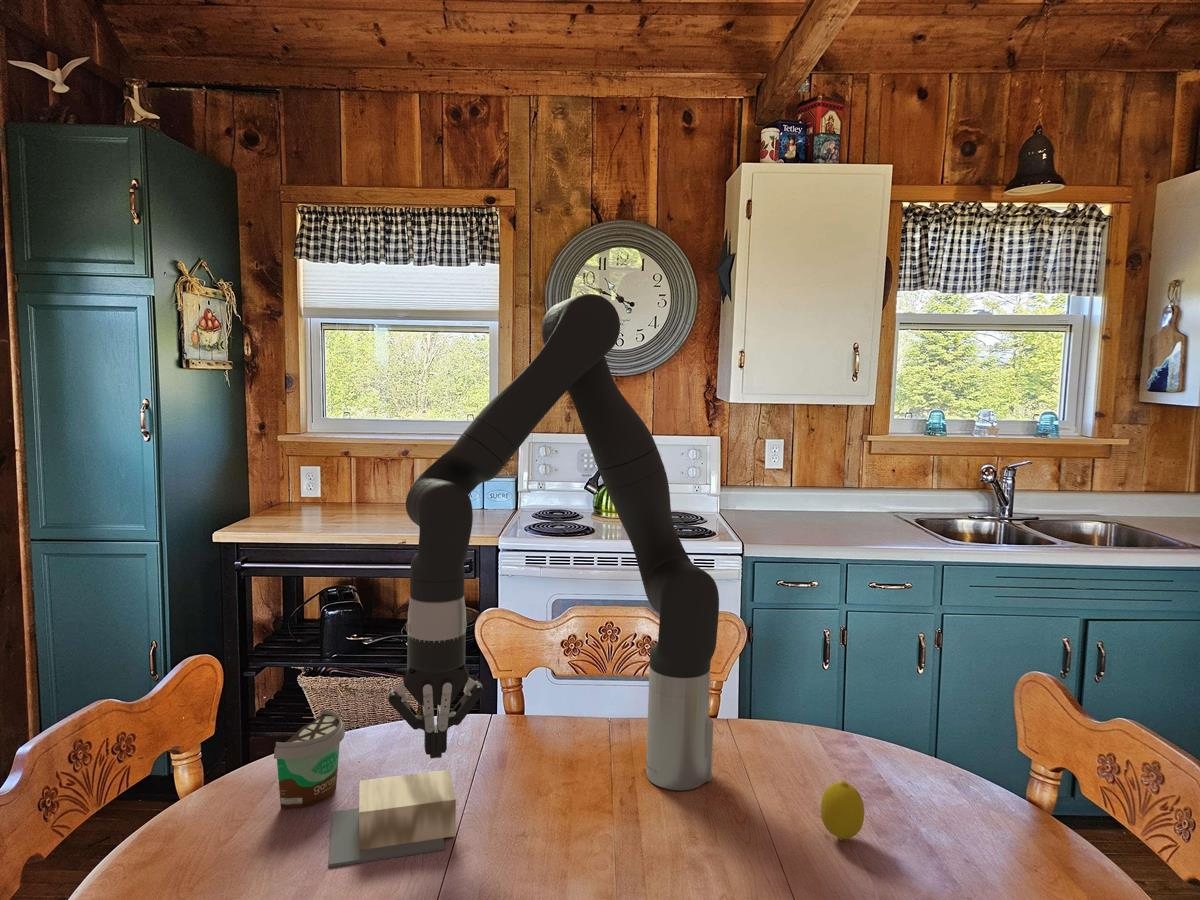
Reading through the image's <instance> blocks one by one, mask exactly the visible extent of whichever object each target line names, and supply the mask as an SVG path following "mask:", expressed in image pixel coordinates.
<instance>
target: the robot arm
mask: <svg viewBox="0 0 1200 900" xmlns="http://www.w3.org/2000/svg"><path fill="white" fill-rule="evenodd" d="M542 319H543V320H542V323H541V338H542V342H543V347H542V348H541V350H540V351H539V353H538V354H537V355H536V356H535V357H534V359H532V361H531V362H530V363H529V364H528V365H527V366H526V367H525V369H523V370H522V371H521V372H520V374H519V375H517V376H516V377H515V378H514V379H513V380H512V381H511V382H509V384H508V385H507V386H506V387H505V388H503V389H502V390H501V391H500V392H499V393H498V394H497V395H496V396H495V397H493V399H492V400H490V401H489V403H488V404H487V405H486V406H485V407H484V408H483V409H482V410H481V411H480V412H479V414H477V416H476V417H475V418H474V419H473V421H472V422H471V423H470V424H469V426H467V428H466V429H465V430H464V431H463V433H462V434H461V435H460V436H459V438H458V439H457V441H456V442H455V443H454V444H453V445H452V447H451V448H449V449H448V450H447V451H446V452H444V453H443V454H442V455H440V456H439V457H438V458H437V459H436V460H435V461H434V462H433V463H432V464H430V466H428V467H427V468H426V469H425V470H424V471H423V472H422V473H421V474H420V475H419V476H418V477H417V479H416V480H415V482H414V483H413V484H412V486H411V487H410V488H409V490H408V493H407V495H406V499H405V511H406V513H407V516H408V517H409V519H410V520H411V521H412V523H414V524H415V525H416V526H418V527H419V532H418V533H419V534H418V535H419V537H418V546H417V547H418V549H417V552H416V553H415V554H414V555H413V557H412V559H411V561H410V570H409V574H410V575H409V603H408V610H407V626H406V628H407V645H406V646H407V649H406V650H407V652H406V653H407V657H406V658H407V660H406V663H407V665H406V666H407V668H406V671H405V673H404V674H403V677H402V681H401V683H400V684H398V685H397V686H396V687H390V688H389V689H388V691H387V699H388V703H389V704H390V706H392V707H393V708H394V710H395V711H396V713H397V712H398V714H399V715H400V717H402V718H403V720H404V721H405V722H406V723H407V724H408V725H409V726H410V728H411V729H412V730H422V731H424V739H423V741H424V747H423V748H424V751H425V752H424V753H425V754H426V755H429V758H430V759H431V760H432V759H439V758H440V759H441V758H443V756H442V755H443V754H445V753H446V751H447V749H448V730H449V728H450V727H452V726H459V725H460V724H461V723H462V722H463V720H465V718H466V716H467V715H468V714H469V713H470V711H471V710H472V709H473V707H474V706H475V705H476V704H477V702H478V701H479V700H480V698H481V697H482V696H483V694H484V692H485V689H484V688H483V685H482V683H481V681H480V680H474V679H472V678H471V677H470V674H469V672H468V669H467V667H466V637H467V636H466V634H467V624H468V623H467V609H466V603H465V602H466V601H465V576H466V575H465V573H466V572H465V569H466V568H465V560H466V558H467V554H468V550H469V545H470V541H471V535H472V534H471V533H472V529H473V522H474V521H473V520H474V516H473V515H474V514H473V512H474V511H473V504H472V500H471V498H470V497H471V496H469V495H471V493H472V492H473V491H474V490H475V489H476V488H477V487H478V486H479V485H480V484H481V483H485V482H489V481H492V480H493V479H494V478H495V477H496V476H497V475H498V474H499V473H501V471H502V470H503V469H504V467H505V466H506V465H507V464H508V463H509V462H510V460H511V458H512V457H513V456H514V455H515V454H516V453H517V451H518V450H519V448H520V447H521V446H522V444H524V442H525V441H526V440H527V438H528V437H529V436H530V435H531V433H532V432H533V430H534V429H535V428H536V427H537V426H538V424H539V423H540V422H541V421H542V419H544V417H545V416H546V414H547V413H548V412H549V411H551V409H552V407H553V406H554V405H555V404H556V403H557V402H558V401H559V400H560V399H561V398H562V396H563V395H564V394H566V392H568V395H569V397H570V400H571V401H572V404H573V407H574V409H575V411H576V415H577V416H578V419H579V423H580V425H581V427H582V430H583V433H584V435H585V437H586V440H587V443H588V445H589V448H590V450H591V453H592V457H593V459H594V461H595V464H596V467H597V470H598V472H599V475H600V477H601V480H602V482H603V484H604V487H605V489H606V492H607V494H608V496H609V499H610V500H611V502H612V505H613V507H614V510H615V512H616V514H617V517H618V518H619V520H620V523H621V524H622V526H623V529H624V531H625V532H626V535H627V536H628V539H629V541H630V543H631V546H632V549H633V553H634V555H635V560H636V562H637V563H636V564H637V567H638V570H639V574H640V578H641V581H642V585H643V589H644V593H645V596H646V597H647V600H648V602H649V604H650V606H651V607H652V609H654V611H655V612H656V613H657V614H659V620H658V621H659V623H658V638H657V642H655V643H654V644H652V646H651V647H650V650H649V666H648V667H649V668H648V669H649V670H648V698H647V699H648V702H647V704H648V705H647V728H646V729H647V730H646V731H647V732H646V758H645V774H646V775H645V777H646V778H647V779H648V781H650V782H651V783H652V784H654V785H655V786H658V787H659V788H663V789H665V790H670V791H688V790H694V789H697V788H700V787H701V786H703V784H705V783H707V782H711V781H712V775H713V774H712V773H713V772H712V771H713V769H712V768H713V748H714V747H713V745H714V720H713V719H712V718H711V717H710V716H709V711H710V708H709V706H710V686H711V685H710V682H711V681H710V680H711V662H712V658H713V656H714V654H715V651H716V649H717V639H718V627H719V614H720V610H719V609H720V596H719V590H718V589H719V588H718V586H717V584H716V581H715V579H714V578H713V577H712V575H710V574H709V573H708V572H706V570H704V569H702V568H700V567H699V566H697V565H695V564H693V561H691V559H690V558H689V556H688V554H687V552H686V550H685V548H684V546H683V543H682V541H681V539H680V537H679V535H678V532H677V530H676V527H675V524H674V520H673V515H672V508H671V495H670V493H671V492H670V486H669V480H668V475H667V471H666V469H665V465H664V462H663V459H662V458H661V457H662V456H661V455H660V451H659V449H658V446H657V444H656V442H655V439H654V437H653V435H652V433H651V431H650V429H649V427H648V426H647V425H646V423H645V422H644V421H643V419H642V418H641V416H640V415H639V414H638V413H637V412H636V410H635V409H634V408H633V407H632V405H631V404H630V402H629V401H628V400H627V399H626V398H625V396H624V395H623V393H621V391H620V389H619V387H618V386H617V385H618V384H617V383H616V382H615V380H614V377H613V375H612V372H611V370H610V367H609V364H608V361H607V359H606V355H607V354H608V353H609V352H610V351H612V349H613V348H614V347H615V345H616V343H617V341H618V339H619V338H620V333H621V320H620V319H621V318H620V315H619V313H618V311H617V309H616V307H615V305H613V303H612V302H611V301H609V299H607V298H606V297H605V296H602V295H599V294H595V293H582V294H578V295H575V296H572V297H570V298H568V299H564V300H562V301H560V302H558V303H556V304H554V305H552V307H550V308H549V309H548V310H547V311H546V313H545V315H544V316H543V318H542ZM462 689H463V693H464V694H463V696H462V697H461V698H460V699H459V701H458V702H457V703H456V704H455V706H453V708H452V710H451V709H450V708H451V703H453V702H454V701H455V699H456V698H457V697H458V695H459V694H460V693H461V691H462ZM407 691H408V692H409V694H410V696H412V697H413V699H415V701H416V702H417V703H418V704H419V705H420V706H422V712H423V713H422V714H423V715H420V714H419V713H418V712H417V711H416V710H415V708H414V707H413V706H412V705H411V704H410V702H409V701H408V693H407ZM434 706H437V714H436V725H435V717H434V716H435V711H434ZM450 710H451V711H450Z"/></svg>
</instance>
